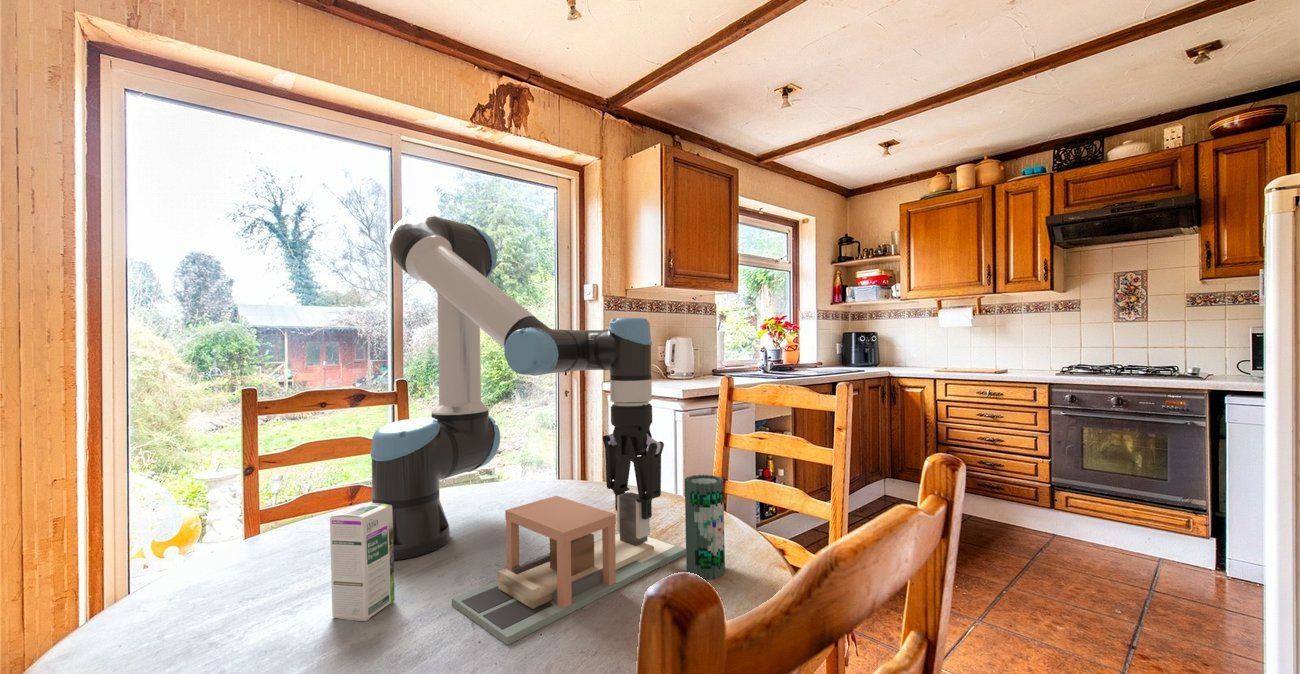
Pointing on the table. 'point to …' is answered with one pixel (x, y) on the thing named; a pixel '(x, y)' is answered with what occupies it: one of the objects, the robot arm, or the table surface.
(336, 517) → the syrup box
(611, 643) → the table surface
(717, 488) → the can
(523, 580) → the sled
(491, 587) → the track
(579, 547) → the block
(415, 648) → the table surface
